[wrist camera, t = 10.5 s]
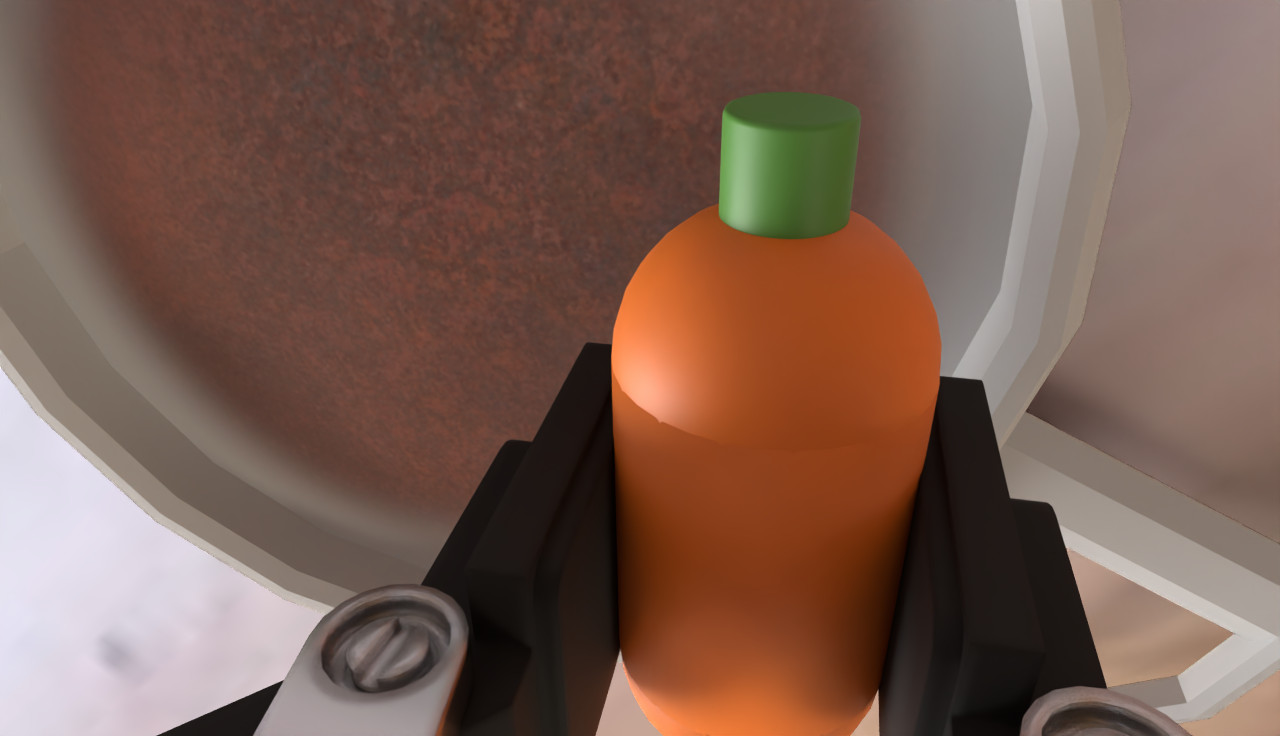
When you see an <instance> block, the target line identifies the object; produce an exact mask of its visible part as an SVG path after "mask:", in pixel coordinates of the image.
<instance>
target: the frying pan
mask: <svg viewBox="0 0 1280 736" xmlns="http://www.w3.org/2000/svg"><path fill="white" fill-rule="evenodd" d="M770 92H801V93H812V94H820V95H826V96H830V97H834V98H838V99H841V100H844V101H846V102H849V103H851V104H853V105H855V106H856V107H857V108H858V109H859V111H860V114H861V125H860V133H859V141H858V150H857V158H856V167H855V175H854V184H853V192H852V200H851V209H850V210H851V211H854V212H856V213H858V214H860V215H862V216H864V217H865V218H867V219H868V220H870V221H871V222H872V223H874V224H875V225H876V226H877V227H879V228H880V229H881V230H882V231H883V232H885V233H886V234H887V235H888V236H889V237H891V238H892V239H893V240H894V241H895V242H896V243H897V244H898V245H899V246H900V248H901V249H902V250H903V251H904V253H905V254H906V255H907V257H908V258H909V259H910V261H911V262H912V263H913V265H914V266H915V268H916V269H917V270H918V272H919V273H920V275H921V277H922V279H923V282H924V284H925V286H926V289H927V291H928V294H929V296H930V298H931V301H932V303H933V306H934V308H935V311H936V314H937V319H938V325H939V331H940V337H941V343H942V346H941V364H940V376H947V377H957V378H968V379H978V380H982V382H983V384H984V388H985V392H986V396H987V401H988V405H989V409H990V414H991V418H992V422H993V427H994V431H995V435H996V439H997V444H998V448H999V452H1000V457H1001V461H1002V465H1003V470H1004V474H1005V478H1006V483H1007V487H1008V491H1009V495H1010V498H1015V499H1023V500H1032V501H1040V502H1047V503H1049V504H1050V505H1051V506H1052V507H1053V509H1054V512H1055V514H1056V516H1057V520H1058V523H1059V526H1060V530H1061V533H1062V537H1063V540H1064V543H1065V547H1067V548H1069V549H1071V550H1073V551H1074V552H1076V553H1078V554H1080V555H1082V556H1084V557H1086V558H1088V559H1090V560H1092V561H1094V562H1096V563H1098V564H1100V565H1102V566H1104V567H1106V568H1108V569H1110V570H1112V571H1113V572H1115V573H1117V574H1119V575H1121V576H1123V577H1125V578H1127V579H1129V580H1131V581H1133V582H1135V583H1137V584H1139V585H1141V586H1143V587H1145V588H1147V589H1149V590H1151V591H1152V592H1154V593H1156V594H1158V595H1160V596H1162V597H1164V598H1166V599H1168V600H1170V601H1172V602H1174V603H1176V604H1178V605H1180V606H1182V607H1184V608H1186V609H1188V610H1190V611H1191V612H1193V613H1195V614H1197V615H1199V616H1201V617H1203V618H1205V619H1207V620H1209V621H1211V622H1213V623H1215V624H1217V625H1219V626H1221V627H1223V628H1225V629H1227V630H1229V631H1230V632H1232V633H1234V634H1233V635H1232V636H1230V637H1229V638H1228V639H1226V640H1225V641H1224V642H1222V643H1221V644H1220V645H1218V646H1217V647H1216V648H1214V649H1213V650H1212V651H1210V652H1209V653H1208V654H1206V655H1205V656H1204V657H1202V658H1201V659H1200V660H1198V661H1197V662H1196V663H1194V664H1193V665H1192V666H1190V667H1189V668H1188V669H1186V670H1185V671H1184V672H1182V673H1181V674H1180V675H1176V676H1171V677H1165V678H1159V679H1153V680H1148V681H1142V682H1136V683H1130V684H1125V685H1119V686H1113V687H1108V688H1107V689H1109V690H1112V691H1115V692H1118V693H1121V694H1124V695H1127V696H1130V697H1133V698H1136V699H1138V700H1140V701H1142V702H1144V703H1146V704H1148V705H1149V706H1151V707H1153V708H1155V709H1157V710H1159V711H1160V712H1162V713H1164V714H1166V715H1167V716H1169V717H1170V718H1171V719H1172V720H1173V721H1175V722H1176V723H1177V724H1179V723H1185V722H1192V721H1198V720H1205V719H1210V718H1211V717H1213V716H1214V715H1215V714H1217V713H1218V712H1220V711H1221V710H1223V709H1224V708H1225V707H1227V706H1228V705H1230V704H1231V703H1233V702H1234V701H1236V700H1237V699H1238V698H1240V697H1241V696H1243V695H1244V694H1246V693H1247V692H1248V691H1250V690H1251V689H1253V688H1254V687H1256V686H1257V685H1259V684H1260V683H1261V682H1263V681H1264V680H1266V679H1267V678H1269V677H1270V676H1271V675H1273V674H1274V673H1276V672H1277V671H1279V670H1280V544H1279V543H1277V542H1275V541H1273V540H1271V539H1270V538H1268V537H1266V536H1264V535H1262V534H1260V533H1258V532H1256V531H1254V530H1252V529H1250V528H1248V527H1246V526H1245V525H1243V524H1241V523H1239V522H1237V521H1235V520H1233V519H1231V518H1229V517H1227V516H1225V515H1223V514H1221V513H1220V512H1218V511H1216V510H1214V509H1212V508H1210V507H1208V506H1206V505H1204V504H1202V503H1200V502H1198V501H1197V500H1195V499H1193V498H1191V497H1189V496H1187V495H1185V494H1183V493H1181V492H1179V491H1177V490H1175V489H1173V488H1172V487H1170V486H1168V485H1166V484H1164V483H1162V482H1160V481H1158V480H1156V479H1154V478H1152V477H1150V476H1148V475H1147V474H1145V473H1143V472H1141V471H1139V470H1137V469H1135V468H1133V467H1131V466H1129V465H1127V464H1125V463H1124V462H1122V461H1120V460H1118V459H1116V458H1114V457H1112V456H1110V455H1108V454H1106V453H1104V452H1102V451H1100V450H1099V449H1097V448H1095V447H1093V446H1091V445H1089V444H1087V443H1085V442H1083V441H1081V440H1079V439H1077V438H1076V437H1074V436H1072V435H1070V434H1068V433H1066V432H1064V431H1062V430H1060V429H1058V428H1056V427H1054V426H1052V425H1051V424H1049V423H1047V422H1045V421H1043V420H1041V419H1039V418H1037V417H1035V416H1033V415H1031V414H1029V413H1027V412H1026V409H1027V408H1028V406H1029V405H1030V403H1031V402H1032V400H1033V399H1034V397H1035V395H1036V394H1037V392H1038V391H1039V389H1040V388H1041V386H1042V385H1043V383H1044V382H1045V380H1046V378H1047V377H1048V375H1049V374H1050V372H1051V371H1052V369H1053V368H1054V366H1055V364H1056V363H1057V361H1058V360H1059V358H1060V357H1061V355H1062V354H1063V352H1064V350H1065V349H1066V347H1067V346H1068V344H1069V343H1070V341H1071V340H1072V338H1073V336H1074V335H1075V333H1076V332H1077V330H1078V329H1079V327H1080V326H1081V324H1082V321H1083V316H1084V312H1085V308H1086V303H1087V299H1088V294H1089V290H1090V285H1091V281H1092V277H1093V272H1094V268H1095V263H1096V259H1097V255H1098V250H1099V246H1100V241H1101V237H1102V233H1103V228H1104V224H1105V219H1106V215H1107V210H1108V206H1109V202H1110V197H1111V193H1112V188H1113V184H1114V180H1115V175H1116V171H1117V166H1118V162H1119V157H1120V153H1121V149H1122V144H1123V140H1124V135H1125V131H1126V127H1127V122H1128V118H1129V113H1130V109H1131V97H1130V88H1129V79H1128V70H1127V62H1126V53H1125V44H1124V35H1123V27H1122V18H1121V9H1120V0H0V367H1V368H2V370H3V371H4V372H5V374H6V375H7V376H8V378H9V379H10V380H11V382H12V383H13V384H14V386H15V387H16V388H17V389H18V391H19V392H20V393H21V395H22V396H23V397H24V399H25V400H26V401H27V403H28V404H29V405H30V407H31V408H32V409H33V410H34V412H35V413H36V414H37V415H38V416H39V417H40V418H41V419H42V420H43V421H44V422H45V423H46V424H48V425H49V426H50V427H51V428H52V429H53V430H54V431H55V432H56V433H58V434H59V435H60V436H61V437H62V438H63V439H64V440H65V441H66V442H68V443H69V444H70V445H71V446H72V447H73V448H74V449H75V450H77V451H78V452H79V453H80V454H81V455H82V456H83V457H84V458H85V459H87V460H88V461H89V462H90V463H91V464H92V465H93V466H94V467H95V468H97V469H98V470H99V471H100V472H101V473H102V474H103V475H104V476H105V477H107V478H108V479H109V480H110V481H111V482H112V483H113V484H114V485H115V486H117V487H118V488H119V489H120V490H121V491H122V492H123V493H124V494H125V495H127V496H128V497H129V498H130V499H131V500H132V501H133V502H134V503H135V504H137V505H138V506H139V507H140V508H141V509H142V510H143V511H144V512H145V513H147V514H148V515H149V516H150V517H151V518H152V519H153V520H154V521H156V522H157V523H159V524H161V525H162V526H164V527H166V528H167V529H169V530H170V531H172V532H174V533H175V534H177V535H179V536H180V537H182V538H184V539H185V540H187V541H189V542H190V543H192V544H193V545H195V546H197V547H198V548H200V549H202V550H203V551H205V552H207V553H208V554H210V555H212V556H213V557H215V558H217V559H218V560H220V561H221V562H223V563H225V564H226V565H228V566H230V567H231V568H233V569H235V570H236V571H238V572H240V573H241V574H243V575H244V576H246V577H248V578H249V579H251V580H253V581H254V582H256V583H258V584H259V585H261V586H263V587H264V588H266V589H268V590H269V591H271V592H272V593H274V594H276V595H277V596H279V597H281V598H282V599H284V600H287V601H290V602H293V603H295V604H298V605H301V606H304V607H306V608H309V609H312V610H314V611H317V612H320V613H323V614H325V615H327V614H328V613H329V612H330V611H332V610H333V609H334V608H336V607H337V606H338V605H339V604H341V603H342V602H343V601H345V600H348V599H350V598H352V597H354V596H356V595H358V594H360V593H362V592H364V591H367V590H371V589H375V588H378V587H382V586H386V585H393V584H417V585H421V583H422V582H423V580H424V578H425V577H426V575H427V573H428V571H429V570H430V568H431V566H432V565H433V563H434V561H435V559H436V558H437V556H438V554H439V553H440V551H441V549H442V548H443V546H444V544H445V542H446V541H447V539H448V537H449V536H450V534H451V532H452V530H453V529H454V527H455V525H456V524H457V522H458V520H459V518H460V517H461V515H462V513H463V512H464V510H465V508H466V507H467V505H468V503H469V501H470V500H471V498H472V496H473V495H474V493H475V491H476V489H477V488H478V486H479V484H480V483H481V481H482V479H483V477H484V476H485V474H486V472H487V471H488V469H489V467H490V466H491V464H492V462H493V460H494V459H495V457H496V455H497V454H498V452H499V450H500V449H501V447H502V446H503V445H504V443H505V442H506V441H508V440H511V439H514V440H523V441H531V442H532V441H533V439H534V437H535V436H536V434H537V432H538V430H539V428H540V426H541V424H542V423H543V421H544V419H545V417H546V415H547V413H548V411H549V410H550V408H551V406H552V404H553V402H554V400H555V398H556V397H557V395H558V393H559V391H560V389H561V387H562V385H563V384H564V382H565V380H566V378H567V376H568V374H569V373H570V371H571V369H572V367H573V365H574V363H575V361H576V360H577V358H578V356H579V354H580V352H581V350H582V348H583V347H584V345H585V344H586V343H587V342H592V343H602V344H612V343H613V331H614V326H615V322H616V319H617V315H618V312H619V309H620V306H621V303H622V300H623V296H624V293H625V290H626V288H627V286H628V284H629V282H630V281H631V279H632V277H633V276H634V274H635V272H636V270H637V269H638V267H639V265H640V264H641V262H642V261H643V260H644V258H645V257H646V256H647V255H648V253H649V252H650V251H651V250H652V249H653V248H654V247H655V246H656V245H657V244H658V243H659V242H660V240H661V239H662V238H663V237H664V236H665V235H666V234H667V233H668V232H670V231H671V230H672V229H674V228H675V227H676V226H678V225H679V224H681V223H682V222H684V221H685V220H687V219H688V218H690V217H691V216H693V215H694V214H696V213H697V212H699V211H701V210H703V209H705V208H708V207H710V206H713V205H716V204H718V203H719V191H720V166H721V140H722V115H723V110H724V108H725V106H726V105H727V104H728V103H729V102H731V101H732V100H735V99H738V98H741V97H744V96H748V95H753V94H759V93H770ZM618 662H623V661H622V655H621V649H620V653H619V656H618V660H617V663H618Z"/></svg>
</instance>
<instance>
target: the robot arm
mask: <svg viewBox="0 0 1280 736" xmlns="http://www.w3.org/2000/svg"><path fill="white" fill-rule="evenodd" d="M611 354H612V344H602V343H592V342H587V343H586V344H585V345H584V347H583V348H582V350H581V352H580V354H579V356H578V358H577V360H576V361H575V363H574V365H573V367H572V369H571V371H570V373H569V374H568V376H567V378H566V380H565V382H564V384H563V385H562V387H561V389H560V391H559V393H558V395H557V397H556V398H555V400H554V402H553V404H552V406H551V408H550V410H549V411H548V413H547V415H546V417H545V419H544V421H543V423H542V424H541V426H540V428H539V430H538V432H537V434H536V436H535V437H534V439H533V441H532V442H531V441H523V440H514V439H511V440H508V441H506V442H505V443H504V445H503V446H502V447H501V449H500V450H499V452H498V454H497V455H496V457H495V459H494V460H493V462H492V464H491V466H490V467H489V469H488V471H487V472H486V474H485V476H484V477H483V479H482V481H481V483H480V484H479V486H478V488H477V489H476V491H475V493H474V495H473V496H472V498H471V500H470V501H469V503H468V505H467V507H466V508H465V510H464V512H463V513H462V515H461V517H460V518H459V520H458V522H457V524H456V525H455V527H454V529H453V530H452V532H451V534H450V536H449V537H448V539H447V541H446V542H445V544H444V546H443V548H442V549H441V551H440V553H439V554H438V556H437V558H436V559H435V561H434V563H433V565H432V566H431V568H430V570H429V571H428V573H427V575H426V577H425V578H424V580H423V582H422V583H421V585H417V584H393V585H386V586H382V587H378V588H375V589H371V590H367V591H364V592H362V593H360V594H358V595H356V596H354V597H352V598H350V599H348V600H345V601H343V602H342V603H341V604H339V605H338V606H337V607H336V608H334V609H333V610H332V611H330V612H329V613H328V614H327V615H325V616H324V617H323V618H322V620H321V621H320V622H319V623H318V625H317V626H316V627H315V629H314V630H313V631H312V632H311V634H310V635H309V637H308V639H307V640H306V642H305V644H304V646H303V648H302V649H301V651H300V653H299V655H298V656H297V658H296V660H295V662H294V664H293V665H292V667H291V669H290V671H289V673H288V674H287V676H286V678H285V680H283V681H281V682H278V683H276V684H274V685H271V686H269V687H267V688H265V689H262V690H260V691H258V692H255V693H253V694H251V695H249V696H246V697H244V698H242V699H239V700H237V701H235V702H233V703H230V704H228V705H226V706H223V707H221V708H219V709H217V710H214V711H212V712H210V713H207V714H205V715H203V716H201V717H198V718H196V719H194V720H191V721H189V722H187V723H185V724H182V725H180V726H178V727H175V728H173V729H171V730H169V731H166V732H164V733H162V734H159V735H157V736H595V735H596V732H597V728H598V725H599V721H600V718H601V714H602V711H603V708H604V704H605V701H606V697H607V694H608V690H609V687H610V684H611V680H612V677H613V673H614V670H615V666H616V663H617V660H618V656H619V653H620V642H619V609H618V573H617V536H616V500H615V463H614V437H613V407H612V370H611ZM878 691H879V732H880V736H1192V735H1191V734H1189V733H1188V732H1187V731H1186V730H1185V729H1183V728H1182V727H1181V726H1180V725H1178V724H1177V723H1176V722H1175V721H1173V720H1172V719H1171V718H1170V717H1169V716H1167V715H1166V714H1164V713H1162V712H1160V711H1159V710H1157V709H1155V708H1153V707H1151V706H1149V705H1148V704H1146V703H1144V702H1142V701H1140V700H1138V699H1136V698H1133V697H1130V696H1127V695H1124V694H1121V693H1118V692H1115V691H1112V690H1109V689H1107V686H1106V683H1105V679H1104V676H1103V672H1102V669H1101V666H1100V662H1099V659H1098V655H1097V652H1096V649H1095V645H1094V642H1093V638H1092V635H1091V632H1090V628H1089V625H1088V622H1087V618H1086V615H1085V611H1084V608H1083V605H1082V601H1081V598H1080V594H1079V591H1078V588H1077V584H1076V581H1075V577H1074V574H1073V571H1072V567H1071V564H1070V560H1069V557H1068V554H1067V550H1066V547H1065V543H1064V540H1063V537H1062V533H1061V530H1060V526H1059V523H1058V520H1057V516H1056V514H1055V512H1054V509H1053V507H1052V506H1051V505H1050V504H1049V503H1047V502H1040V501H1032V500H1023V499H1015V498H1010V495H1009V491H1008V487H1007V483H1006V478H1005V474H1004V470H1003V465H1002V461H1001V457H1000V452H999V448H998V444H997V439H996V435H995V431H994V427H993V422H992V418H991V414H990V409H989V405H988V401H987V396H986V392H985V388H984V384H983V382H982V380H978V379H968V378H957V377H947V376H940V385H939V390H938V395H937V400H936V406H935V411H934V416H933V421H932V426H931V431H930V437H929V442H928V447H927V452H926V457H925V462H924V466H923V470H922V473H921V475H920V480H919V485H918V490H917V495H916V501H915V506H914V511H913V516H912V521H911V527H910V532H909V537H908V542H907V548H906V553H905V558H904V563H903V568H902V574H901V579H900V584H899V589H898V595H897V600H896V605H895V610H894V615H893V621H892V626H891V631H890V636H889V642H888V647H887V652H886V657H885V662H884V668H883V673H882V678H881V682H880V685H879V687H878Z"/></svg>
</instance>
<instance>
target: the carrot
mask: <svg viewBox="0 0 1280 736" xmlns="http://www.w3.org/2000/svg"><path fill="white" fill-rule="evenodd" d="M860 125H861V114H860V111H859V109H858V108H857V107H856V106H855V105H853V104H851V103H849V102H846V101H844V100H841V99H838V98H834V97H830V96H826V95H820V94H812V93H801V92H770V93H759V94H753V95H748V96H744V97H741V98H738V99H735V100H732V101H731V102H729V103H728V104H727V105H726V106H725V108H724V110H723V115H722V140H721V166H720V191H719V203H718V204H716V205H713V206H710V207H708V208H705V209H703V210H701V211H699V212H697V213H696V214H694V215H693V216H691V217H690V218H688V219H687V220H685V221H684V222H682V223H681V224H679V225H678V226H676V227H675V228H674V229H672V230H671V231H670V232H668V233H667V234H666V235H665V236H664V237H663V238H662V239H661V240H660V242H659V243H658V244H657V245H656V246H655V247H654V248H653V249H652V250H651V251H650V252H649V253H648V255H647V256H646V257H645V258H644V260H643V261H642V262H641V264H640V265H639V267H638V269H637V270H636V272H635V274H634V276H633V277H632V279H631V281H630V282H629V284H628V286H627V288H626V290H625V293H624V296H623V300H622V303H621V306H620V309H619V312H618V315H617V319H616V322H615V326H614V331H613V343H612V354H611V370H612V407H613V437H614V463H615V500H616V536H617V573H618V609H619V642H620V649H621V655H622V661H623V667H624V671H625V673H626V676H627V679H628V682H629V685H630V688H631V690H632V692H633V694H634V696H635V698H636V700H637V702H638V704H639V705H640V707H641V708H642V710H643V712H644V713H645V715H646V716H647V718H648V720H649V721H650V722H651V723H652V724H653V725H654V726H655V727H656V728H657V729H658V731H659V732H660V733H661V734H662V735H663V736H850V735H851V734H852V733H853V731H854V730H855V729H856V728H857V726H858V725H859V724H860V722H861V721H862V719H863V718H864V717H865V715H866V714H867V713H868V711H869V710H870V709H871V706H872V703H873V701H874V698H875V696H876V693H877V691H878V687H879V685H880V682H881V678H882V673H883V668H884V662H885V657H886V652H887V647H888V642H889V636H890V631H891V626H892V621H893V615H894V610H895V605H896V600H897V595H898V589H899V584H900V579H901V574H902V568H903V563H904V558H905V553H906V548H907V542H908V537H909V532H910V527H911V521H912V516H913V511H914V506H915V501H916V495H917V490H918V485H919V480H920V475H921V473H922V470H923V466H924V462H925V457H926V452H927V447H928V442H929V437H930V431H931V426H932V421H933V416H934V411H935V406H936V400H937V395H938V390H939V385H940V364H941V346H942V343H941V337H940V331H939V325H938V319H937V314H936V311H935V308H934V306H933V303H932V301H931V298H930V296H929V294H928V291H927V289H926V286H925V284H924V282H923V279H922V277H921V275H920V273H919V272H918V270H917V269H916V268H915V266H914V265H913V263H912V262H911V261H910V259H909V258H908V257H907V255H906V254H905V253H904V251H903V250H902V249H901V248H900V246H899V245H898V244H897V243H896V242H895V241H894V240H893V239H892V238H891V237H889V236H888V235H887V234H886V233H885V232H883V231H882V230H881V229H880V228H879V227H877V226H876V225H875V224H874V223H872V222H871V221H870V220H868V219H867V218H865V217H864V216H862V215H860V214H858V213H856V212H854V211H851V210H850V209H851V200H852V192H853V184H854V175H855V167H856V158H857V150H858V141H859V133H860Z"/></svg>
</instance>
